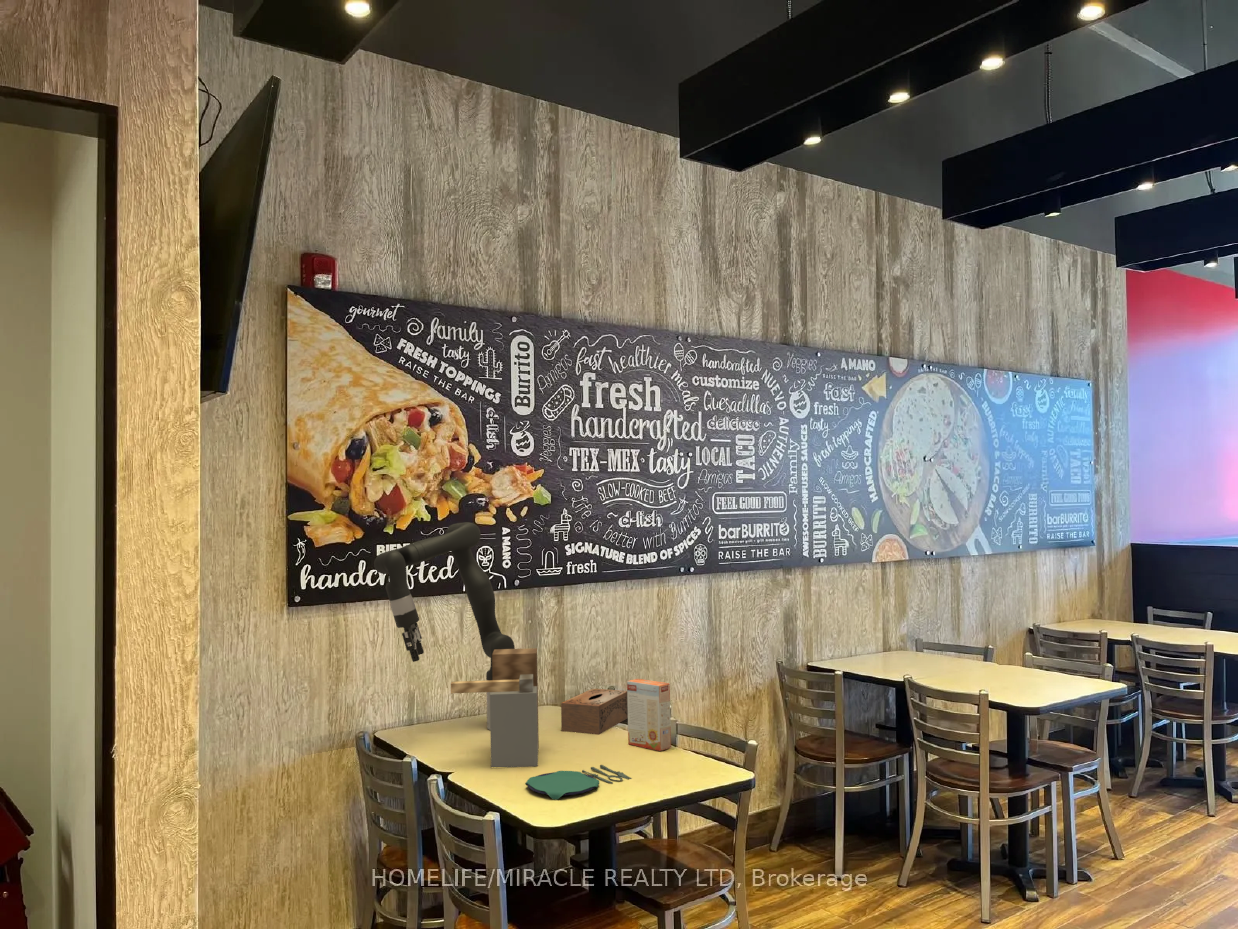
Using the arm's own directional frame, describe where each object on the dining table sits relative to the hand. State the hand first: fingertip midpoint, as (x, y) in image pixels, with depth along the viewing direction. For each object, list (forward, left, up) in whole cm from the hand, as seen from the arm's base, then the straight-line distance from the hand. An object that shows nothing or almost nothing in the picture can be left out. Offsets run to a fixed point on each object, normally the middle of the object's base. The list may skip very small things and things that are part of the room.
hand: (418, 657), depth 294 cm
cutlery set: (-16, +64, -31) cm, 73 cm away
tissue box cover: (-62, +14, -30) cm, 71 cm away
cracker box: (-57, +49, -30) cm, 81 cm away
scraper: (-9, +30, -8) cm, 32 cm away
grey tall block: (-15, +34, -30) cm, 47 cm away
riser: (-22, +24, -30) cm, 44 cm away
